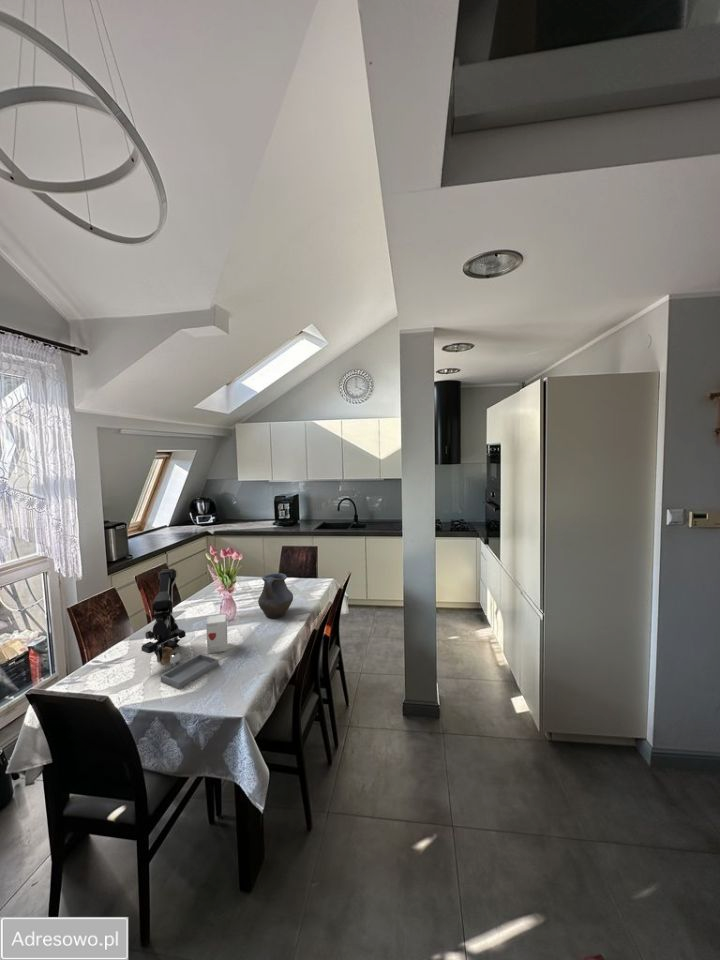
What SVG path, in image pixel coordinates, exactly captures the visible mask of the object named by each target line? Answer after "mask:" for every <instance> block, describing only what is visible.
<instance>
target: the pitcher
mask: <svg viewBox="0 0 720 960" xmlns="http://www.w3.org/2000/svg"><path fill="white" fill-rule="evenodd" d="M287 578H288V576H287V575H286V574H285V573H281V572H280V573H279V572H278V573H277V572H276V573H275V572H274V573H268V574H265V575H263V576H262V578H261V580H263V582H264V584H263V589H262V592H261V593H260V595H259V598H258V601H257V603H258V606H259V608H260V610H261V611H262V612H263V614H264V616H265V617H266V618H269V619H279V618H282V617H284V616H285V614H286V613H287V611H288V610H289V608H290V606H291V604H292V602H293V601H294V595H293V593H292V591H291V590H290V589H289V588H288V586H287V583H286V581H285V580H286V579H287Z"/></svg>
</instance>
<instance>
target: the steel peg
mask: <svg viewBox="0 0 720 960" xmlns="http://www.w3.org/2000/svg"><path fill="white" fill-rule="evenodd" d="M169 663H170V670H171V669H173V668H175V667H177V666H179V665H181V664H182V663H181V653H180V652H173V654H171V655H170V662H169Z"/></svg>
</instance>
